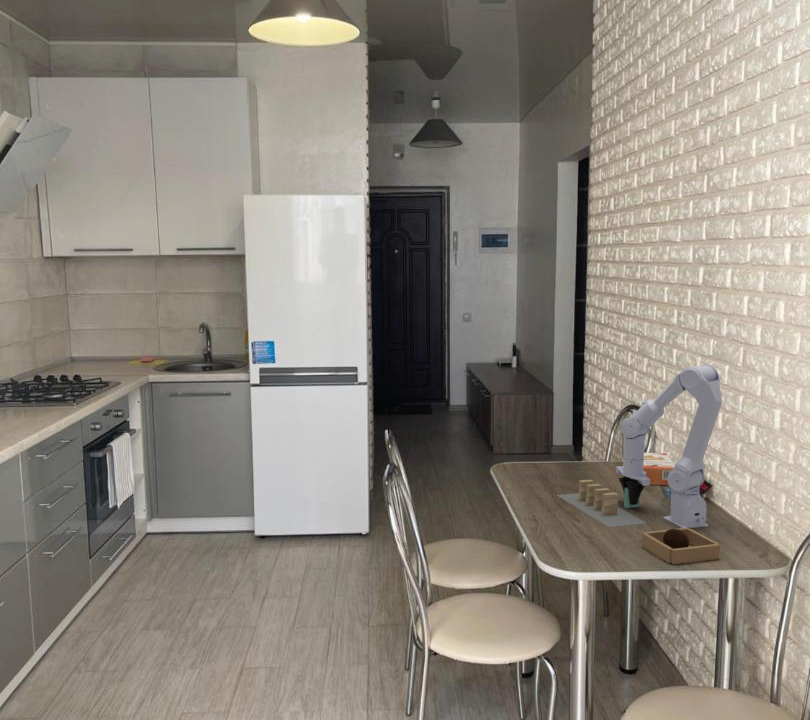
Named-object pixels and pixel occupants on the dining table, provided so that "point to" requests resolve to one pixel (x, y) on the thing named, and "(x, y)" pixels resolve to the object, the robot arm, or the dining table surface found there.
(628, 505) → the tile
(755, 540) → the dining table surface
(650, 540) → the board and tray
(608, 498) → the tile
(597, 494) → the tan wooden block
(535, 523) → the dining table surface
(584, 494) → the tile
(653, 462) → the cracker box
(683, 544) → the dark brown rounded piece
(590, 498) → the tile
